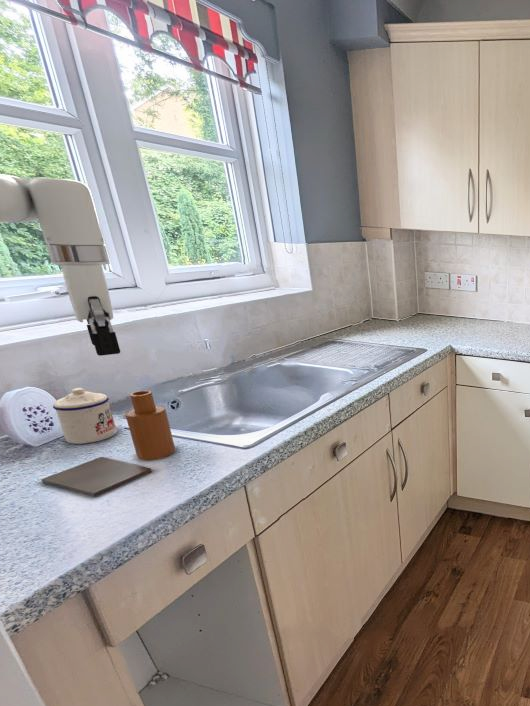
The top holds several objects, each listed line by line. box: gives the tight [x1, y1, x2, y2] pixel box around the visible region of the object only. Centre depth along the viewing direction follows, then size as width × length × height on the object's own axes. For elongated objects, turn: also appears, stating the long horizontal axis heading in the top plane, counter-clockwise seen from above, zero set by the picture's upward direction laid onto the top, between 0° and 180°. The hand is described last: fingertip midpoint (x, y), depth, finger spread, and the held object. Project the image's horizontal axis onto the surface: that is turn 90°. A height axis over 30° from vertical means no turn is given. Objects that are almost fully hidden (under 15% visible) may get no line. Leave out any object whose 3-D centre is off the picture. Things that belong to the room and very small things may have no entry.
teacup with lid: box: [52, 387, 118, 445], centre depth 104 cm, size 12×9×12 cm
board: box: [41, 456, 153, 498], centre depth 88 cm, size 14×10×1 cm
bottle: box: [124, 390, 176, 461], centre depth 96 cm, size 6×6×14 cm
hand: (106, 349), depth 86 cm, fingers open, 9 cm apart
